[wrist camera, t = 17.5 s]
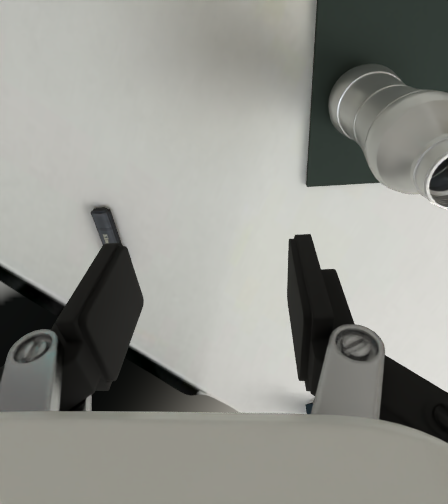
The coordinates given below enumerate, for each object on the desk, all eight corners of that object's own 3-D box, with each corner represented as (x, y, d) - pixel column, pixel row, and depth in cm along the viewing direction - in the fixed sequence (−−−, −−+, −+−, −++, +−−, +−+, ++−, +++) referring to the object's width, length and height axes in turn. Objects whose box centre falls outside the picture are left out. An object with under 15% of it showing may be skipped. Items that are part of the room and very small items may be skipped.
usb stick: (92, 206, 43) (87, 212, 42) (111, 205, 43) (107, 211, 41) (112, 263, 48) (109, 270, 47) (130, 262, 48) (127, 269, 47)
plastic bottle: (357, 44, 30) (483, 79, 14) (407, 89, 32) (568, 164, 16) (310, 106, 34) (367, 191, 17) (357, 143, 36) (449, 251, 19)
